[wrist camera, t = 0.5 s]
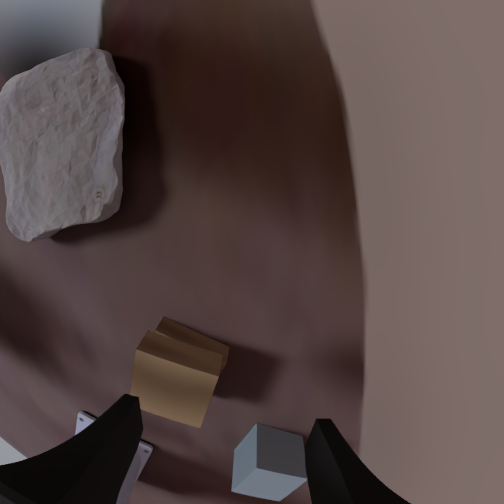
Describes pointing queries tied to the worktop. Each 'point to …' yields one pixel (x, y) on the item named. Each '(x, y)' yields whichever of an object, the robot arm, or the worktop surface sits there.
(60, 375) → the worktop surface
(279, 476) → the blue block
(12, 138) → the stone block
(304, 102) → the worktop surface
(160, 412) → the tower top slab
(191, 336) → the tower bottom slab
